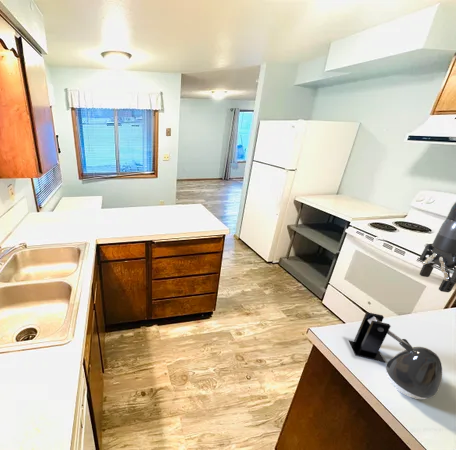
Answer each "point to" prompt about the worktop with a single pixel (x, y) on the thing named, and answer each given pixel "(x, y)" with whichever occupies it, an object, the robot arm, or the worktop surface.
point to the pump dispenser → (415, 372)
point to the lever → (390, 332)
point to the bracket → (370, 338)
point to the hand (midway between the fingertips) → (433, 283)
